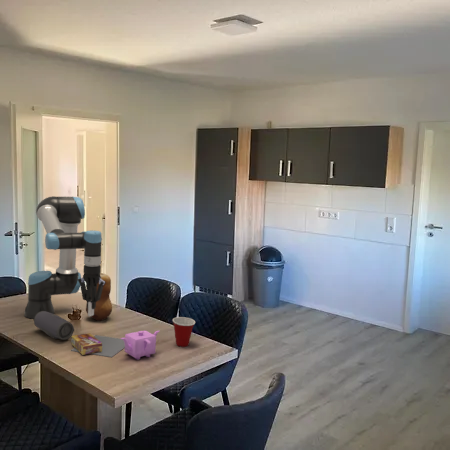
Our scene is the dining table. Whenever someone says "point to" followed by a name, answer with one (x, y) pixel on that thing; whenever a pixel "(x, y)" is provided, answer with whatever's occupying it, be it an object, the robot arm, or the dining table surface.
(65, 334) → the bluetooth speaker
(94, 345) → the candy box
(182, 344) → the plastic cup
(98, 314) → the butternut squash
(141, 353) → the teapot
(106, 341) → the mat
